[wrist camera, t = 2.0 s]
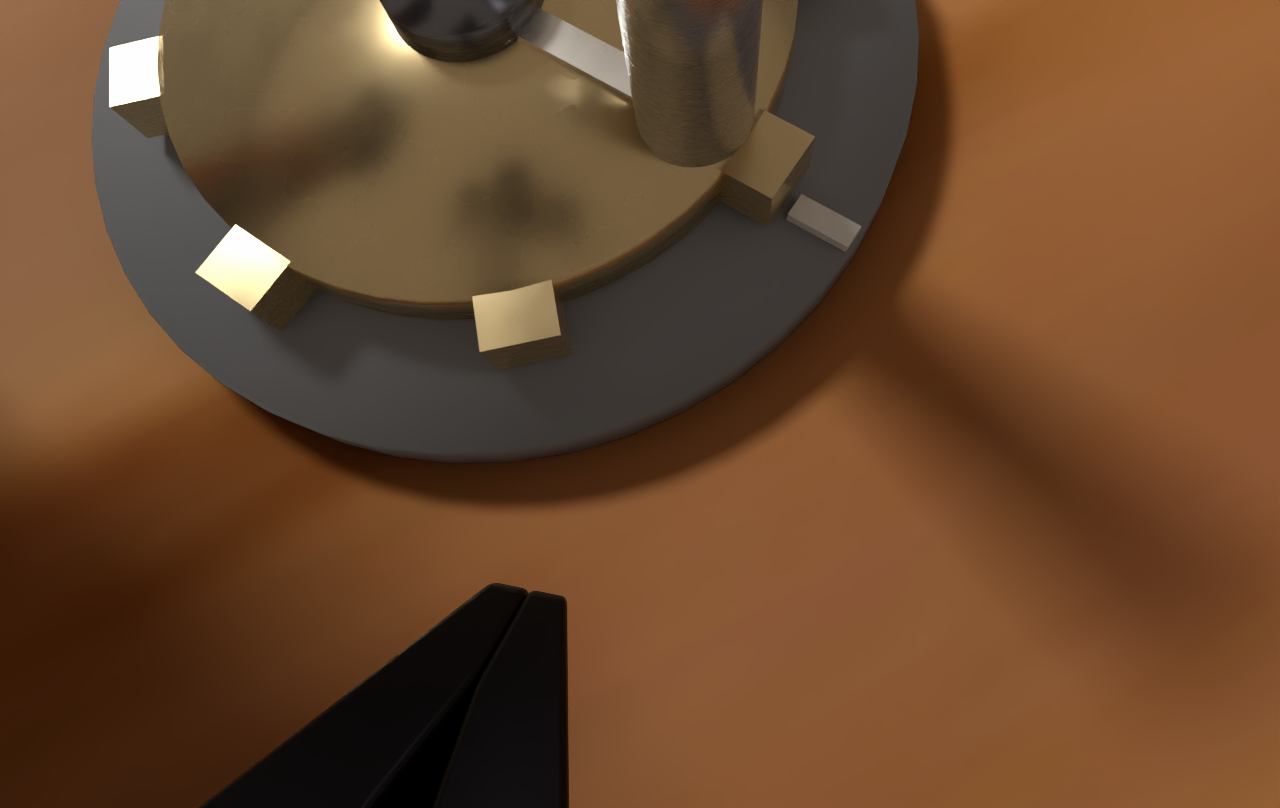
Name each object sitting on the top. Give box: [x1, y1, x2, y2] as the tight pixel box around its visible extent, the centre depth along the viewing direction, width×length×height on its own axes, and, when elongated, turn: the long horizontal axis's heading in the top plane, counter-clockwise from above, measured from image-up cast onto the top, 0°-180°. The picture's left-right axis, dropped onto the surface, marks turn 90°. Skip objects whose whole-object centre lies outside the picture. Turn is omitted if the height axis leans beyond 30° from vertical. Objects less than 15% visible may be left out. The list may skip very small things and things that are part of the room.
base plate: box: [92, 0, 919, 464], centre depth 24 cm, size 25×25×2 cm
